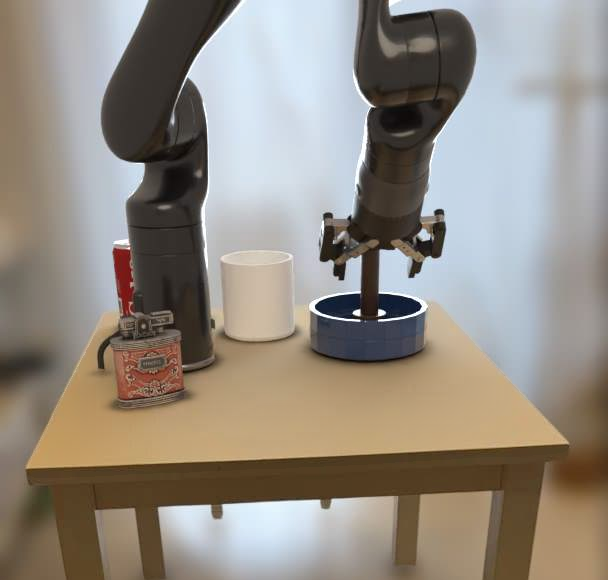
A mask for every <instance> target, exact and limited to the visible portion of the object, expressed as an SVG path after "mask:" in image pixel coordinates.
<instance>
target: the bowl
mask: <svg viewBox="0 0 608 580" xmlns="http://www.w3.org/2000/svg"><path fill="white" fill-rule="evenodd" d="M359 309H360V291H352V292H343V293H335V294H330V295H325V296H322V297H320V298H318V299H315V300H313V301H312V302H311V303H310V304H309V305H308V325H309V328H308V330H309V331H308V332H309V335H308V336H309V346H310V348H312V349H313V350H314V351H316V352H317V353H319V354H323V355H325V356H329V357H333V358H335V359H336V358H337V359H341V360H346V361H356V362H357V361H358V362H377V361H378V362H379V361H388V360H394V359H399V358H403V357H406V356H410V355H414V354H416V353H417V352H419V351H421V350H422V349H423V350H424V347H425V346H426V344H427V333H428V332H427V330H428V329H427V328H428V314H429V313H428V311H429V307H428V304H427V302H425V301H424V300H422V299H420V298H418V297H415V296H411V295H407V294H403V293H395V292H387V291H385V292H384V291H379V307H378V309H380V310H383V311H385V312H386V320H352V314H353V312H354V311H356V310H359Z"/></svg>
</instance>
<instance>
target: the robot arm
mask: <svg viewBox="0 0 608 580" xmlns="http://www.w3.org/2000/svg"><path fill="white" fill-rule="evenodd" d="M399 1H400V0H358V7H357V9H358V11H357V24H356V32H355V41H354V50H353V62H352V73H353V74H352V75H353V81H354V84H355V87H356V90H357V92H358V94H359V95H360V96H361V98H362V100H363V101H364V102H365V103H366V104H367V105H368V106H370V107H369V109H368V111H367V114H366V117H365V124H364V128H363V129H364V131H363V139H362V148H361V151H360V152H361V153H360V155H359V158H358V163H357V167H356V174H355V181H354V182H355V183H354V191H353V199H352V205H351V206H352V207H351V212H350V214H349V215H348V216H347V217H346V218H334V213H332V212H331V211H328V212H327V211H326V212H324V213H323V214H322V216H321V222H320V229H319V235H318V241H317V243H318V244H317V245H318V252H319V254H318V259H319V262H320V263H327V262H329V261H332V263H331V264H332V265H331V266H332V275H333V277H334V278H338V279H337V280H338V282H339V281H340V282H341V281H345V278H346V270H347V262H348V261H349V260H351V259H352V258H353V259H357V258H359V257H361V254H363V253H364V252H366V251H367V250H368V251H376V250H380V251H382V250H383V251H396V249H397V250H399V251H400V252H401V253H402V254H403V255H404V256H405V257H407V261H406V273H407V278H408V279H415V276H416V275H419V274H420V273H421V271H422V267H423V264H424V261H425V260H426V258H428V257H430V258H432V259H435V260H436V259H439V258H441V257H442V255H443V248H444V244H445V238H446V234H447V223H446V215H445V214H446V213H445V210H444V209H443V208H437V209H434V211H433V213H432V215H425V216H424V215H423V216H422V212H423V208H424V205H425V199H426V196H427V193H428V191H429V188H430V179H431V171H432V170H431V167H432V160H433V156H434V151H435V147H436V142H437V138H438V136H439V135H440V134H441V133H442V131H443V130H444V128H445V127H446V125H447V123H448V122H449V120H450V119H451V117H452V115H453V114H454V113H455V111H456V110H457V108H458V107H459V105H460V103H461V102H462V100H463V98H464V97H465V95H466V93H467V92H468V89H469V87H470V84H471V81H472V80H473V76H474V72H475V69H476V64H477V57H478V45H477V37H476V34H475V30H474V29H473V28H474V27H473V26H472V23H471V22H470V20H469V19H468V18H467V16H465V14H463V13H462V12H461V11H459V10H456V9H453V8H446V7H445V8H437V9H436V8H435V9H429V10H422V11H415V12H409V13H402V14H393V15H392V14H391V11H390V7H391V6H392V5H393V4H395V3H397V2H399ZM245 2H246V0H147V2H146V4H145V7H144V9H143V12H142V14H141V16H140V18H139V21H138V24H137V26H136V27H135V30H134V32H133V34H132V36H131V37H130V40H129V42H128V44H127V45H126V47H125V49H124V51H123V52H122V56H121V57H120V59H119V61H118V63H117V65H116V66H115V68H114V70H113V73H112V75H111V77H110V78H109V81H108V83H107V85H106V88H105V91H104V94H103V97H102V101H101V106H100V126H101V127H100V128H101V132H102V137H103V139H104V142H105V144H106V146H107V148H108V150H109V151H110V152H111V154H113V155H114V156H115V157H116V158H118V159H119V160H120V161H123V162H126V163H130V164H139V165H140V164H141V165H143V164H144V169H143V170H144V171H143V176H142V179H141V181H140V183H139V185H138V186H137V188H136V189H135V190H134V191H133V192H132V193H131V194H130V195H129V196H128V198H127V199H126V201H125V217H126V223H127V225H126V227H127V234H128V239H129V245H130V254H131V263H132V272H133V281H134V291H133V293H132V299H133V308H134V313H136V312H141V313H143V314H144V315H151V313H154V312H161V311H171V313H173V323H170V324H163V325H162V326H163V330H168V329H174V330H179V331H180V332H181V340H180V349H181V360H182V372H191V371H195V370H199V369H203V368H205V367H208V366H210V365H212V364H213V363H214V362H215V361H216V360H215V359H216V355H215V351H214V348H215V347H214V339H213V330H216V320H215V319H213V318H212V309H211V294H210V281H209V280H210V279H209V265H208V251H207V237H206V236H207V235H206V223H205V206H206V201H207V199H208V195H209V189H210V165H209V163H210V162H209V127H208V118H207V117H208V116H207V111H206V106H205V102H204V100H203V97H202V94H201V92H200V90H199V88H198V86H197V85H196V84H195V82H193V80H192V79H191V78H189V74H190V72H191V70H192V68H193V65H194V64H195V62H196V60H197V58H198V57H199V55H200V54H201V52H202V51H203V50H204V49H205V47H206V46H207V45H208V43H210V41H211V40H212V39H213V38H214V37H215V35H216V34H218V32H219V31H221V29H222V28H223V27H224V26H225V24H227V22H228V21H229V20H230V19H231V18H232V17H233V16H234V15H235V13H236V12H238V10H239V9H240V8H241V7H242V5H243V4H244V3H245ZM422 229H423V230H426V234H429V236H428V239H426V240H424V239H423V238H422V237H421V236H420V235H419V234H420V233H421V231H422ZM343 232H344V233H343ZM342 233H343V235H341V234H342ZM339 236H340V237H339ZM338 237H339V238H338ZM130 317H133V315H122V317H121V319H123V318H130ZM151 327H152V331H156V326H151ZM117 329H118V330H116V331H115V332H114V333H113V334H111V335H109V336H108V337H106V338H105V339H104V340H103V342H101V344H100V345H99V347H98V349H97V355H96V361H97V369H98V370H105V366H106V365H105V351H106V350H107V348H108V347H109V346H111V345H110V340H111V339H112V338H115V337H120V336H122V334H121V331H120V329H119V322H118V324H117ZM130 330H131V329H130ZM130 330H129V332H130ZM129 335H130V333H129Z"/></svg>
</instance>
